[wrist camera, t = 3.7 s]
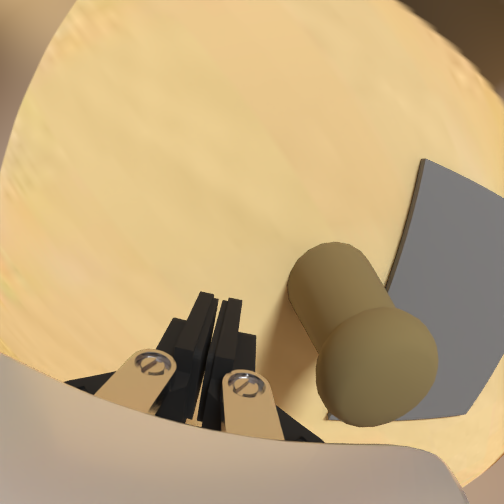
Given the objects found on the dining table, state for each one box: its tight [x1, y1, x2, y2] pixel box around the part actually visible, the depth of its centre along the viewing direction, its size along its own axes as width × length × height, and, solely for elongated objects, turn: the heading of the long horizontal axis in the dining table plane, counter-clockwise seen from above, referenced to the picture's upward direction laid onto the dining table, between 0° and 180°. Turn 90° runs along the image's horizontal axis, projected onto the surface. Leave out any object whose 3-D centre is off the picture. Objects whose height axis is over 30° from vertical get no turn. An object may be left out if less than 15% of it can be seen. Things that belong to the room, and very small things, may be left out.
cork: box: [287, 242, 439, 427], centre depth 14 cm, size 6×6×11 cm
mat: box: [328, 159, 504, 420], centre depth 20 cm, size 22×18×1 cm
